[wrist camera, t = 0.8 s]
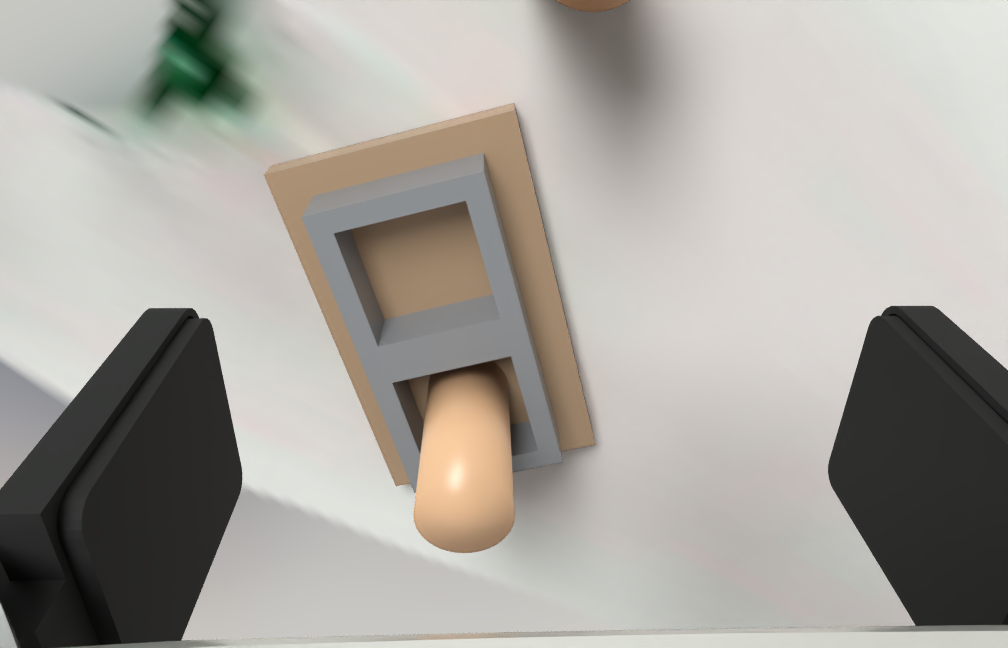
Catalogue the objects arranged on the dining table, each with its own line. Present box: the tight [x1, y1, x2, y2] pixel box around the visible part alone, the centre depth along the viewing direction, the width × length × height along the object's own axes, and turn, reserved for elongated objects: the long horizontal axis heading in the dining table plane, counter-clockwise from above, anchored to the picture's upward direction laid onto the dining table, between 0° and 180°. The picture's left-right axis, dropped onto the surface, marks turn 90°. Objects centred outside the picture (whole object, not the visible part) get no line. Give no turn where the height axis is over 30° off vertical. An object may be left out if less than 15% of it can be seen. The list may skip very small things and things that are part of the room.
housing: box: [264, 103, 595, 553], centre depth 32 cm, size 11×18×10 cm, turn 14°
